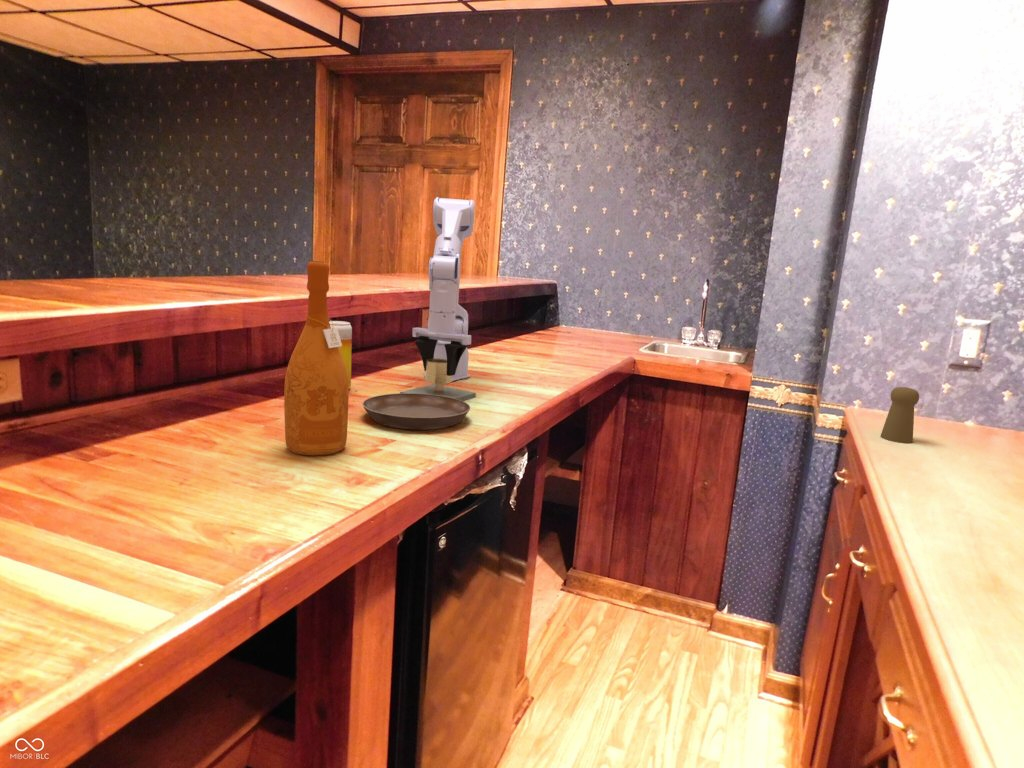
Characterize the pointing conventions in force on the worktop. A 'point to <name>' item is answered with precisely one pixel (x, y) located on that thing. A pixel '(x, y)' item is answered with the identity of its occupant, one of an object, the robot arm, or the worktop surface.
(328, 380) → the wine bottle
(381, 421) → the plant saucer
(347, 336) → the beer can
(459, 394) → the post plate
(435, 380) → the collar
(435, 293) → the robot arm
